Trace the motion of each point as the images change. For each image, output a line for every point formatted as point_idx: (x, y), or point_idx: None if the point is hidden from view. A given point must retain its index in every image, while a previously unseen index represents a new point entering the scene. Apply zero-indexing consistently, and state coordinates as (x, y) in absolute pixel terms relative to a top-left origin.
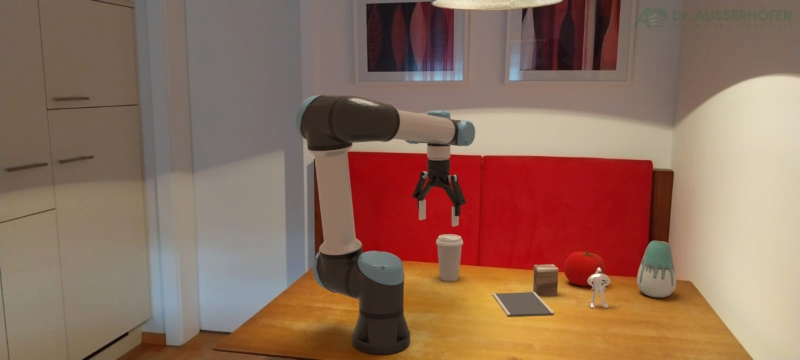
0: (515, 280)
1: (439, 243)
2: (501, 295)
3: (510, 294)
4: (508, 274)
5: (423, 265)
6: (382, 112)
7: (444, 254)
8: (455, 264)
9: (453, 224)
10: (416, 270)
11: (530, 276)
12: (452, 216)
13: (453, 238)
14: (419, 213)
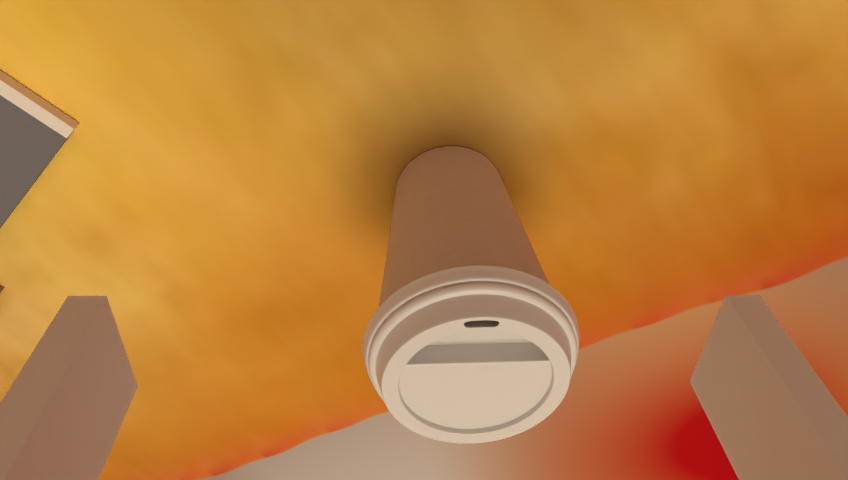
0: (181, 351)
1: (505, 278)
2: (16, 133)
3: (2, 175)
4: (262, 388)
5: (684, 269)
6: None
7: (452, 235)
8: (390, 236)
9: (58, 320)
10: (683, 188)
11: (176, 416)
12: (14, 429)
13: (438, 384)
14: (806, 376)
